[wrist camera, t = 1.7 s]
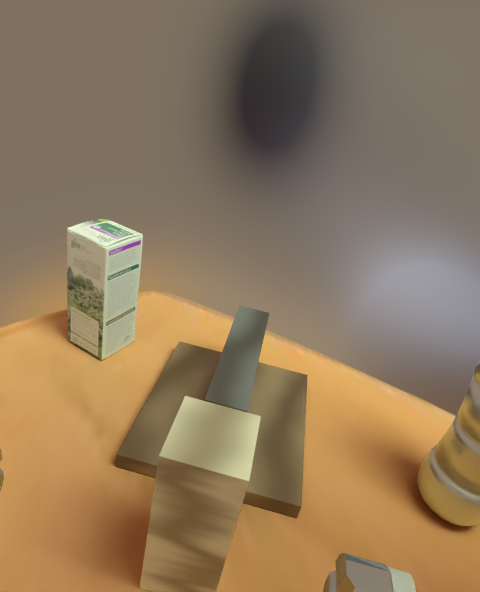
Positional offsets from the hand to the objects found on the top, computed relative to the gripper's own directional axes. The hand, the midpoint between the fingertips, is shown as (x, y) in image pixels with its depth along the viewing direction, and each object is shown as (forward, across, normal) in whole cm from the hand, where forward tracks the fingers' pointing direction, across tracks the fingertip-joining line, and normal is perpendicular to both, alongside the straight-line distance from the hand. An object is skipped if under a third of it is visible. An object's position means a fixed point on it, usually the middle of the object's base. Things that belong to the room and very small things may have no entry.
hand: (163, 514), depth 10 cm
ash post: (+12, 0, +22) cm, 26 cm away
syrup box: (+34, +17, +23) cm, 44 cm away
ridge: (+27, 0, +22) cm, 35 cm away
